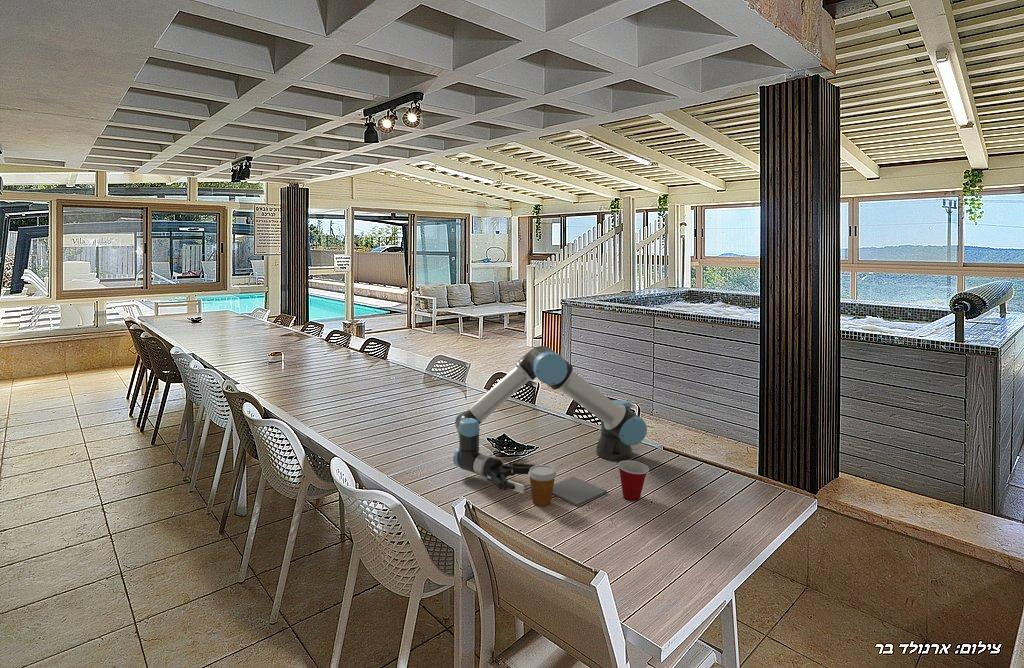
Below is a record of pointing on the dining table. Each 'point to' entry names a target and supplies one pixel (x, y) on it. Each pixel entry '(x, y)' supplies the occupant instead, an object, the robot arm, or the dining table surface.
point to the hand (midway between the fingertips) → (535, 482)
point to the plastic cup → (632, 478)
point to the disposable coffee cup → (542, 484)
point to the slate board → (577, 491)
